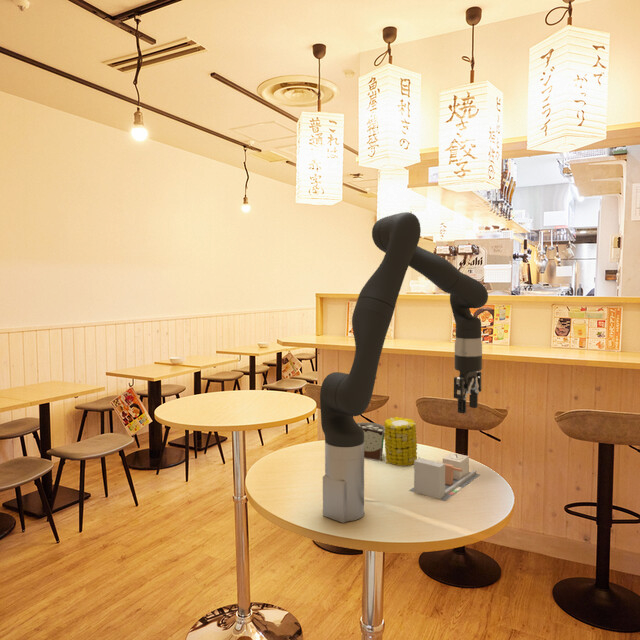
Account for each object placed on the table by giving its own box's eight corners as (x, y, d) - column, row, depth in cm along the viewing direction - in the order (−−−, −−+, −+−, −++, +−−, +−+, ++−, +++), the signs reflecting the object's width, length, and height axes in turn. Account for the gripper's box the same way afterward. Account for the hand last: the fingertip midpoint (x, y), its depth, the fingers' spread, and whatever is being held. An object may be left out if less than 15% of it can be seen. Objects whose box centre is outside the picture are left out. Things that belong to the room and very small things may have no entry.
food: (420, 468, 150) (405, 480, 142) (387, 452, 156) (371, 462, 148) (430, 422, 146) (415, 432, 138) (396, 408, 153) (379, 416, 145)
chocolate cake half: (392, 456, 156) (392, 425, 156) (384, 462, 151) (384, 430, 150) (358, 449, 163) (358, 420, 162) (349, 455, 157) (349, 424, 157)
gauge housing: (454, 483, 129) (455, 464, 129) (437, 479, 132) (437, 459, 132) (468, 473, 136) (469, 455, 136) (451, 469, 139) (452, 451, 139)
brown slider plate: (460, 487, 126) (460, 468, 126) (435, 481, 131) (435, 462, 131) (462, 486, 127) (462, 467, 127) (437, 479, 132) (437, 461, 131)
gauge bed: (445, 506, 119) (445, 468, 119) (408, 496, 125) (409, 459, 125) (480, 479, 136) (480, 446, 135) (446, 471, 142) (446, 439, 142)
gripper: (470, 357, 132) (470, 417, 133) (490, 351, 143) (490, 407, 144) (444, 355, 136) (444, 413, 137) (465, 350, 147) (465, 403, 148)
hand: (467, 410), depth 141 cm, fingers open, 7 cm apart
